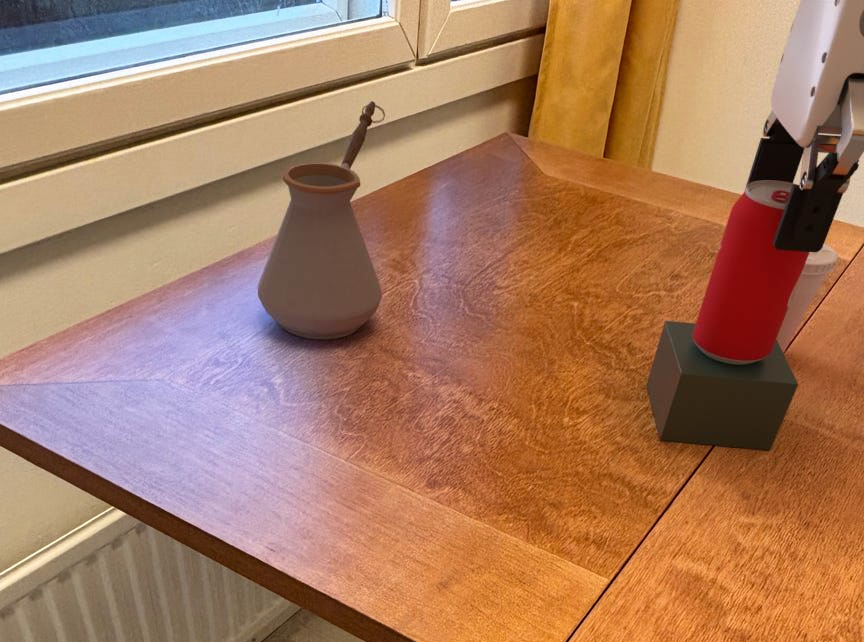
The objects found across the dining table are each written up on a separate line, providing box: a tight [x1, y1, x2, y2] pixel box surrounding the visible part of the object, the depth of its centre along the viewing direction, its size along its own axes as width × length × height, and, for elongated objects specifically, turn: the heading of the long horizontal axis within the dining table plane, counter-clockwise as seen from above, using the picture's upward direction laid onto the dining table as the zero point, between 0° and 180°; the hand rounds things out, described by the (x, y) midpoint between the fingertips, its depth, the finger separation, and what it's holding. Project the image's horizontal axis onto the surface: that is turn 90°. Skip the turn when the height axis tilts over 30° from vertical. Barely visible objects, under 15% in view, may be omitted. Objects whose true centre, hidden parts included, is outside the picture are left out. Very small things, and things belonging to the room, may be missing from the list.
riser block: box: [646, 320, 799, 451], centre depth 74 cm, size 9×9×6 cm
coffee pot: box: [257, 100, 386, 340], centre depth 82 cm, size 21×12×15 cm, turn 164°
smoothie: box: [777, 243, 839, 354], centre depth 80 cm, size 6×6×14 cm
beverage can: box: [693, 180, 810, 365], centre depth 67 cm, size 6×6×12 cm
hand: (779, 222), depth 64 cm, fingers open, 9 cm apart
